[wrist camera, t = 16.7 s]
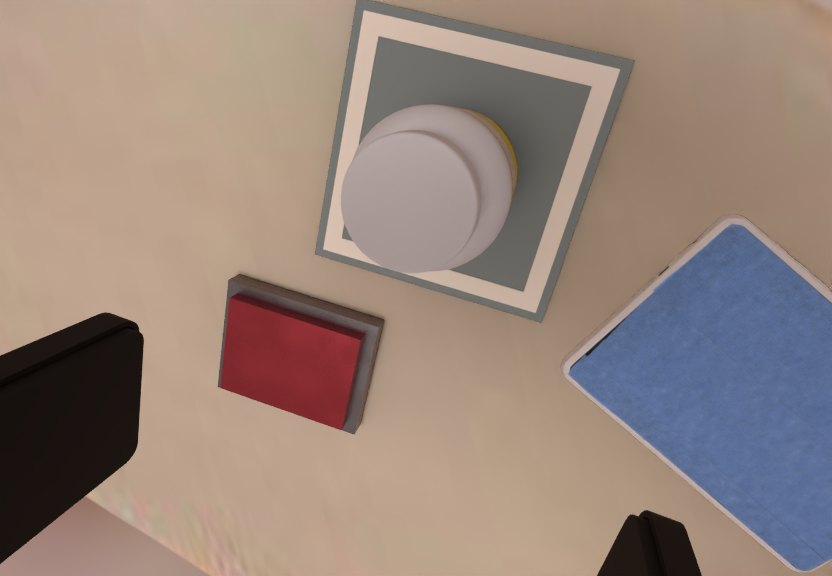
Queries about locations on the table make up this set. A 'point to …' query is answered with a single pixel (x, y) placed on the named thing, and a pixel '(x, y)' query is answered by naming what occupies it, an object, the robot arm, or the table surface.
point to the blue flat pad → (729, 384)
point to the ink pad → (298, 352)
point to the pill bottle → (429, 188)
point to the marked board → (510, 109)
